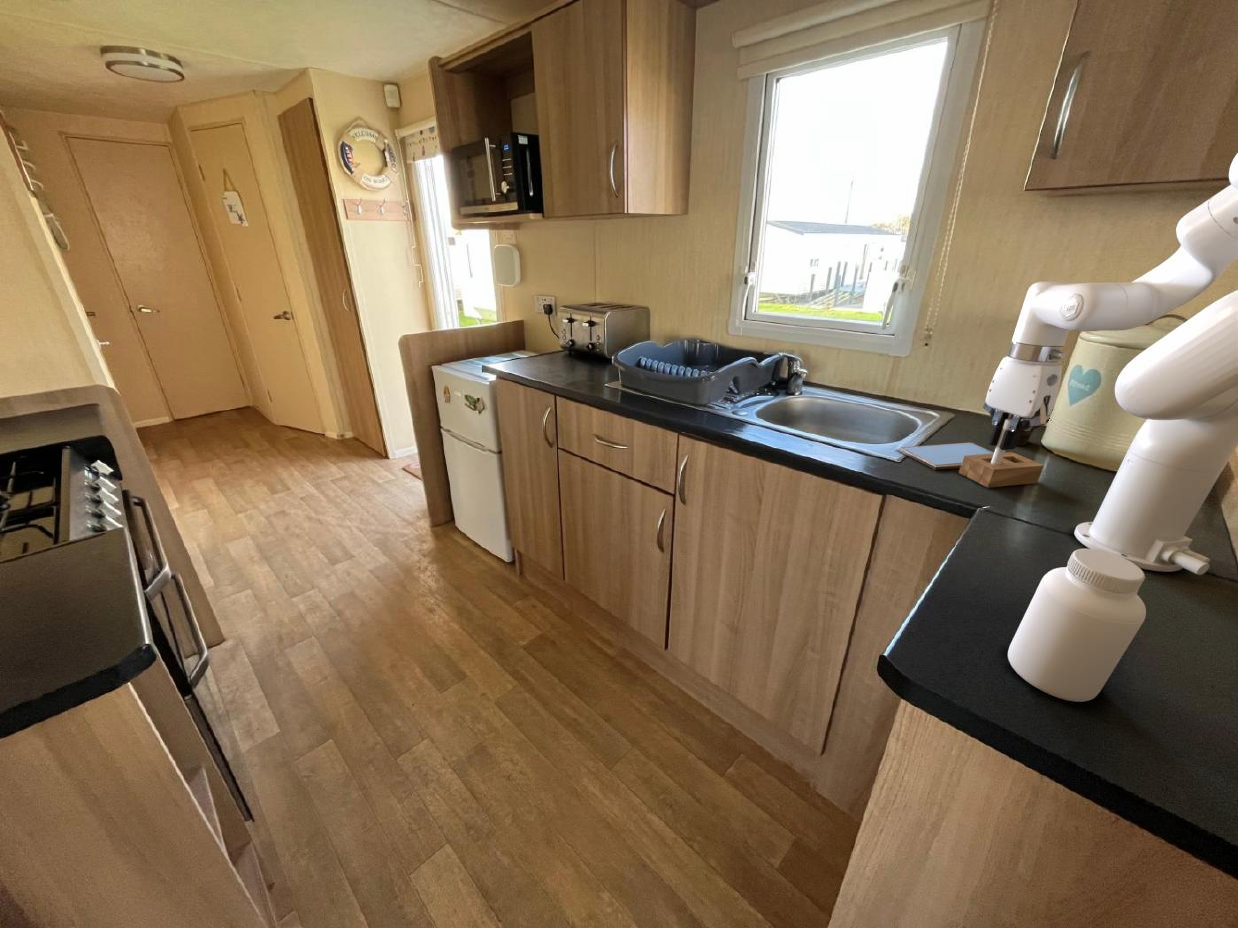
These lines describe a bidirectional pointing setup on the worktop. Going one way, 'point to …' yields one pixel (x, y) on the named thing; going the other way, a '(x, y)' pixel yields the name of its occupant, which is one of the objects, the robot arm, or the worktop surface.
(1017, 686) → the worktop surface
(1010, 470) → the pen stand
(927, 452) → the tablet
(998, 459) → the stylus
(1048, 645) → the pill bottle
